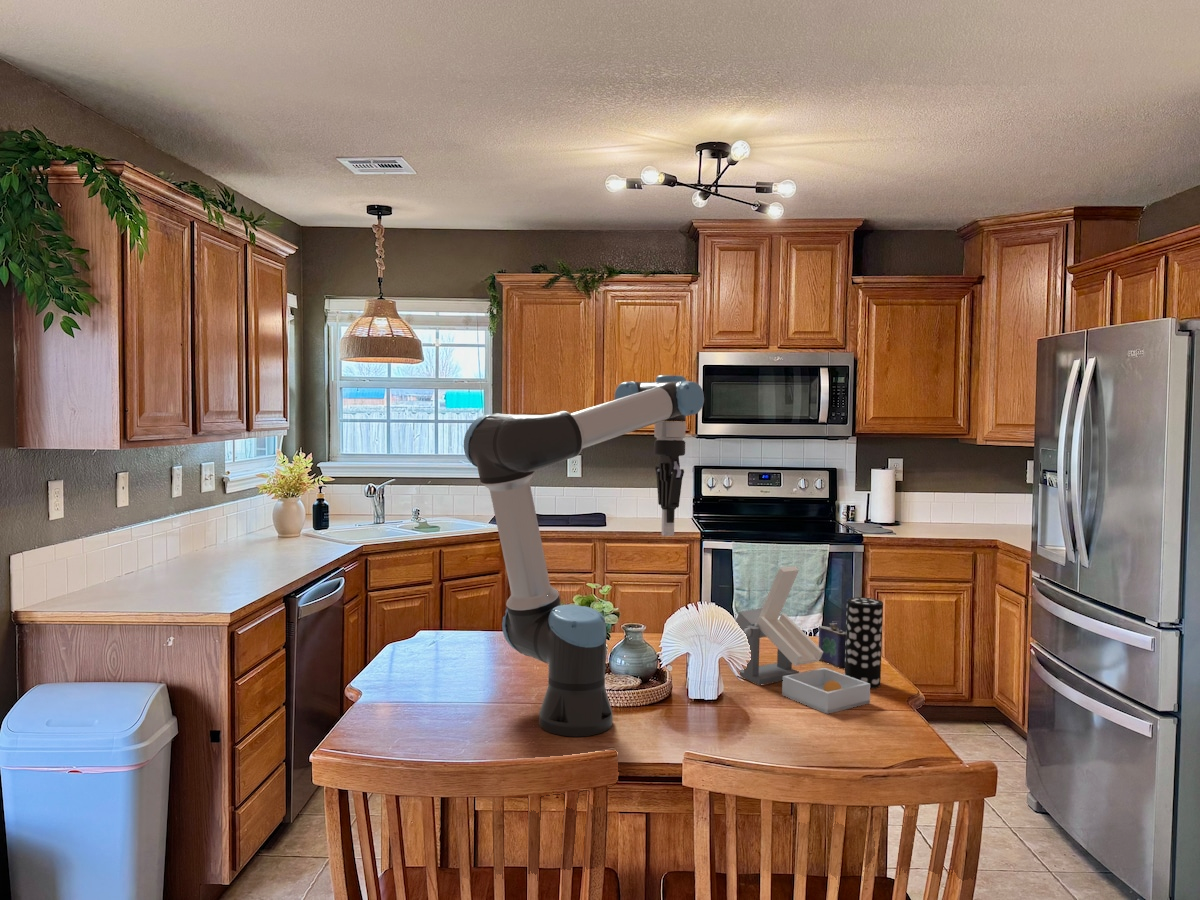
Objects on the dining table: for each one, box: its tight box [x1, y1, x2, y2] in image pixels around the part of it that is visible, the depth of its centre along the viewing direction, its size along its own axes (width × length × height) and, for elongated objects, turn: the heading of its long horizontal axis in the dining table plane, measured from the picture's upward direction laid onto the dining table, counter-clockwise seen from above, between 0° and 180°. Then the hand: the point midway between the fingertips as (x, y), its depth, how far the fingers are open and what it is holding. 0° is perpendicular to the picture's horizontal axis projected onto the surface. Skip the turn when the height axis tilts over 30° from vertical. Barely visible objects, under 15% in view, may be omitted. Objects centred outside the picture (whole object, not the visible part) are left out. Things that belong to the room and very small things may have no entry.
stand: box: [738, 625, 800, 686], centre depth 207 cm, size 8×15×13 cm, turn 122°
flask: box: [818, 622, 846, 669], centre depth 219 cm, size 9×3×11 cm, turn 28°
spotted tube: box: [844, 596, 884, 689], centre depth 203 cm, size 8×8×20 cm
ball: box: [824, 681, 842, 692], centre depth 190 cm, size 4×4×4 cm
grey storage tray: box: [781, 667, 871, 715], centre depth 191 cm, size 14×14×4 cm
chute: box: [735, 565, 823, 667], centre depth 202 cm, size 21×8×22 cm, turn 32°
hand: (667, 535), depth 206 cm, fingers closed
